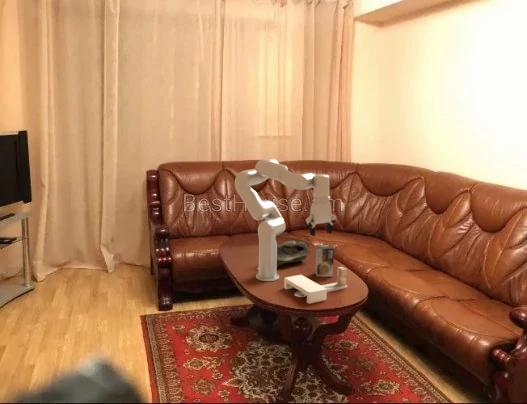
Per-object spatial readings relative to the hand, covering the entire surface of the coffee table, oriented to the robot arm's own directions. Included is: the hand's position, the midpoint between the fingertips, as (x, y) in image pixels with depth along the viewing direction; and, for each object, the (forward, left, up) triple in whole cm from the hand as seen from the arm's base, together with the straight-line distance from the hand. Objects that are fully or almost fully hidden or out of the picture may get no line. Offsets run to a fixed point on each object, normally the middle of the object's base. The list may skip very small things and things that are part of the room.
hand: (321, 234), depth 235 cm
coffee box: (-17, +16, -29) cm, 37 cm away
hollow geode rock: (-42, +9, -29) cm, 52 cm away
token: (+1, -12, -29) cm, 32 cm away
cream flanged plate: (+1, -9, -29) cm, 30 cm away
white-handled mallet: (+1, +6, -29) cm, 30 cm away
